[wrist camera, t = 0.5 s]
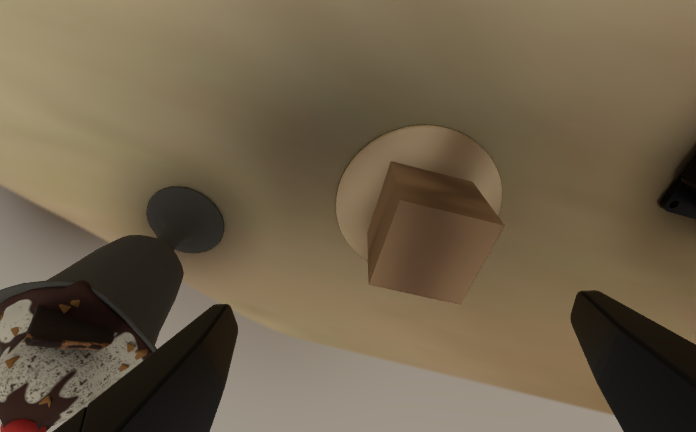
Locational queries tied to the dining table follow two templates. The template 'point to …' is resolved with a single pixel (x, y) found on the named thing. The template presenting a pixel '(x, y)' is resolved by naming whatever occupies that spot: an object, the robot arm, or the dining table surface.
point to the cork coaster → (417, 151)
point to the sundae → (96, 314)
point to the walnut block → (429, 234)
